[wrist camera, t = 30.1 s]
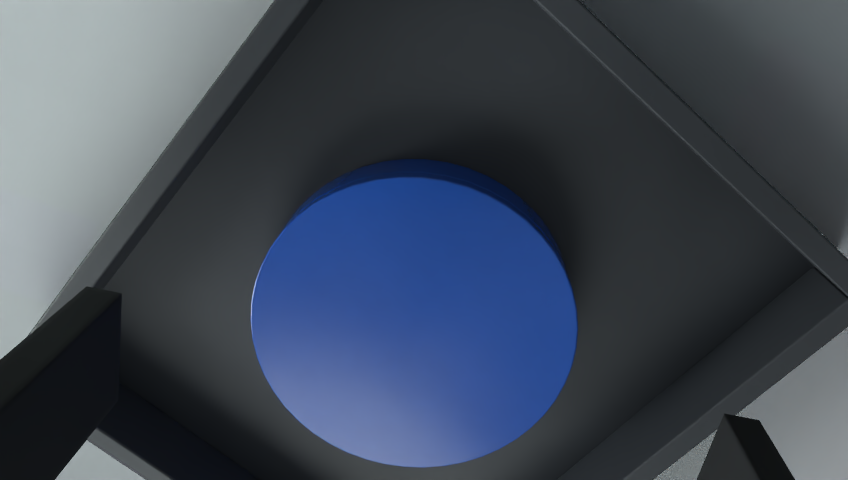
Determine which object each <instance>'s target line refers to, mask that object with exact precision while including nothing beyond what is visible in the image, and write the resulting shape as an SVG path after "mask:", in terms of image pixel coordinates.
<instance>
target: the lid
mask: <svg viewBox="0 0 848 480" xmlns="http://www.w3.org/2000/svg"><path fill="white" fill-rule="evenodd" d="M250 321H251V330H252V339H253V343H254V347H255V351H256V355H257V359H258V361H259V364H260V366H261V369H262V371H263V374H264V376H265V378H266V379H267V381H268V383H269V385H270V386H271V388H272V390H273V392H274V393H275V394H276V396H277V397H278V398H279V400H280V401H281V402H282V404H283V405H284V406H285V408H286V409H287V410H288V411H289V412H290V413H291V414H292V415H293V416H294V417H295V418H296V419H297V420H298V421H299V422H300V423H301V424H303V425H304V426H305V427H306V428H307V429H309V430H310V431H311V432H312V433H314V434H315V435H317V436H318V437H320V438H321V439H323V440H324V441H326V442H328V443H329V444H331V445H333V446H335V447H337V448H339V449H341V450H343V451H345V452H347V453H350V454H352V455H355V456H358V457H360V458H363V459H366V460H370V461H374V462H378V463H382V464H387V465H394V466H401V467H420V468H426V467H440V466H447V465H453V464H458V463H463V462H467V461H470V460H473V459H477V458H480V457H483V456H485V455H487V454H490V453H492V452H494V451H496V450H499V449H501V448H502V447H504V446H506V445H507V444H509V443H511V442H513V441H514V440H516V439H517V438H519V437H520V436H521V435H522V434H524V433H525V432H526V431H528V430H529V429H530V428H531V427H532V426H533V425H534V424H535V423H537V422H538V421H539V420H540V419H541V418H542V417H543V416H544V415H545V413H546V412H547V411H548V409H549V408H550V407H551V405H552V404H553V403H554V402H555V400H556V399H557V397H558V395H559V393H560V392H561V390H562V388H563V386H564V385H565V383H566V380H567V378H568V375H569V373H570V370H571V368H572V365H573V361H574V356H575V352H576V348H577V337H578V317H577V307H576V302H575V298H574V293H573V289H572V285H571V282H570V279H569V276H568V272H567V269H566V266H565V263H564V260H563V258H562V255H561V252H560V250H559V247H558V245H557V243H556V242H555V240H554V238H553V236H552V234H551V233H550V231H549V229H548V228H547V226H546V225H545V224H544V222H543V221H542V220H541V218H540V217H539V216H538V215H537V213H536V212H535V211H534V210H533V209H532V208H531V207H530V206H529V205H528V204H527V203H526V202H525V201H524V200H523V199H522V198H520V197H519V196H518V195H516V194H515V193H514V192H512V191H511V190H510V189H508V188H507V187H506V186H504V185H502V184H501V183H499V182H497V181H495V180H494V179H492V178H490V177H488V176H486V175H484V174H482V173H479V172H477V171H474V170H472V169H469V168H467V167H463V166H459V165H455V164H452V163H448V162H442V161H435V160H428V159H400V160H392V161H384V162H379V163H375V164H371V165H367V166H364V167H361V168H358V169H356V170H353V171H351V172H348V173H346V174H343V175H341V176H340V177H338V178H336V179H334V180H333V181H331V182H329V183H327V184H326V185H324V186H323V187H322V188H320V189H319V190H318V191H316V192H315V193H314V194H313V195H311V196H310V197H309V198H308V199H307V200H306V201H305V202H304V203H303V204H302V205H301V206H300V207H299V208H298V209H297V210H296V211H295V213H294V214H293V216H292V217H291V218H290V220H289V221H288V222H287V224H286V225H285V227H284V228H283V229H282V231H281V232H280V234H279V235H278V237H277V238H276V240H275V241H274V243H273V244H272V246H271V247H270V249H269V251H268V253H267V255H266V256H265V258H264V260H263V262H262V264H261V267H260V269H259V272H258V275H257V278H256V281H255V284H254V290H253V295H252V300H251V320H250Z"/></svg>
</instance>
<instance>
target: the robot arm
mask: <svg viewBox="0 0 848 480" xmlns="http://www.w3.org/2000/svg"><path fill="white" fill-rule="evenodd" d="M121 306H122V293H118V292H113V291H108V290H103V289H98V288H93V287H88V286H86V287H85V288H84V289H83V290H82V291H80V292H79V293H78V294H77V295H76V296H75V297H73V298H72V299H71V300H70V301H69V302H67V303H66V304H65V305H64V306H63V307H62V308H60V309H59V310H58V311H57V312H56V313H55V314H53V315H52V316H51V317H50V318H49V319H48V320H46V321H45V322H44V323H43V324H42V325H41V326H39V327H38V328H37V329H36V330H35V331H34V332H32V333H31V334H30V335H29V336H28V337H26V338H25V339H24V340H23V341H22V342H21V343H19V344H18V345H17V346H16V347H15V348H14V349H12V350H11V351H10V352H9V353H8V354H7V355H5V356H4V357H3V358H2V359H1V360H0V480H55V479H56V477H57V476H58V475H59V474H60V472H61V471H62V470H63V469H64V467H65V466H66V465H67V464H68V462H69V461H70V460H71V459H72V457H73V456H74V455H75V454H76V452H77V451H78V450H79V449H80V448H81V446H82V445H83V444H84V443H85V441H86V440H87V439H88V438H89V436H90V435H91V434H92V433H93V431H94V430H95V429H96V428H97V426H98V425H99V424H100V423H101V421H102V420H103V419H104V418H105V416H106V415H107V414H108V413H109V411H110V410H111V409H112V408H113V406H114V405H115V404H116V403H117V401H118V400H119V369H120V338H121ZM697 480H795V479H794V477H793V476H792V474H791V472H790V471H789V469H788V467H787V466H786V464H785V462H784V461H783V459H782V457H781V456H780V454H779V452H778V451H777V449H776V447H775V446H774V444H773V442H772V441H771V439H770V437H769V436H768V434H767V432H766V431H765V429H764V427H763V426H762V424H761V422H760V421H759V420H755V419H750V418H744V417H739V416H734V415H729V414H724V415H723V418H722V420H721V423H720V425H719V427H718V430H717V432H716V435H715V437H714V440H713V442H712V444H711V447H710V449H709V452H708V454H707V456H706V459H705V461H704V464H703V466H702V468H701V471H700V473H699V476H698V478H697Z"/></svg>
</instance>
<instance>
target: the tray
mask: <svg viewBox="0 0 848 480" xmlns="http://www.w3.org/2000/svg"><path fill="white" fill-rule="evenodd" d="M400 159H428V160H435V161H442V162H448V163H452V164H455V165H459V166H463V167H467V168H469V169H472V170H474V171H477V172H479V173H482V174H484V175H486V176H488V177H490V178H492V179H494V180H495V181H497V182H499V183H501V184H502V185H504V186H506V187H507V188H508V189H510V190H511V191H512V192H514V193H515V194H516V195H518V196H519V197H520V198H522V199H523V200H524V201H525V202H526V203H527V204H528V205H529V206H530V207H531V208H532V209H533V210H534V211H535V212H536V213H537V215H538V216H539V217H540V218H541V220H542V221H543V222H544V224H545V225H546V226H547V228H548V229H549V231H550V233H551V234H552V236H553V238H554V240H555V242H556V243H557V245H558V247H559V250H560V252H561V255H562V258H563V260H564V263H565V266H566V269H567V272H568V276H569V279H570V282H571V285H572V289H573V293H574V298H575V302H576V307H577V317H578V337H577V348H576V352H575V356H574V361H573V365H572V368H571V370H570V373H569V375H568V378H567V380H566V383H565V385H564V386H563V388H562V390H561V392H560V393H559V395H558V397H557V399H556V400H555V402H554V403H553V404H552V405H551V407H550V408H549V409H548V411H547V412H546V413H545V415H544V416H543V417H542V418H541V419H540V420H539V421H538V422H537V423H535V424H534V425H533V426H532V427H531V428H530V429H529V430H528V431H526V432H525V433H524V434H522V435H521V436H520V437H519V438H517V439H516V440H514V441H513V442H511V443H509V444H507V445H506V446H504V447H502V448H501V449H499V450H496V451H494V452H492V453H490V454H487V455H485V456H483V457H480V458H477V459H473V460H470V461H467V462H463V463H458V464H453V465H447V466H440V467H426V468H420V467H401V466H394V465H387V464H382V463H378V462H374V461H370V460H366V459H363V458H360V457H358V456H355V455H352V454H350V453H347V452H345V451H343V450H341V449H339V448H337V447H335V446H333V445H331V444H329V443H328V442H326V441H324V440H323V439H321V438H320V437H318V436H317V435H315V434H314V433H312V432H311V431H310V430H309V429H307V428H306V427H305V426H304V425H303V424H301V423H300V422H299V421H298V420H297V419H296V418H295V417H294V416H293V415H292V414H291V413H290V412H289V411H288V410H287V409H286V408H285V406H284V405H283V404H282V402H281V401H280V400H279V398H278V397H277V396H276V394H275V393H274V392H273V390H272V388H271V386H270V385H269V383H268V381H267V379H266V378H265V376H264V374H263V371H262V369H261V366H260V364H259V361H258V359H257V355H256V351H255V347H254V343H253V339H252V330H251V321H250V320H251V300H252V295H253V290H254V284H255V281H256V278H257V275H258V272H259V269H260V267H261V264H262V262H263V260H264V258H265V256H266V255H267V253H268V251H269V249H270V247H271V246H272V244H273V243H274V241H275V240H276V238H277V237H278V235H279V234H280V232H281V231H282V229H283V228H284V227H285V225H286V224H287V222H288V221H289V220H290V218H291V217H292V216H293V214H294V213H295V211H296V210H297V209H298V208H299V207H300V206H301V205H302V204H303V203H304V202H305V201H306V200H307V199H308V198H309V197H310V196H311V195H313V194H314V193H315V192H316V191H318V190H319V189H320V188H322V187H323V186H324V185H326V184H327V183H329V182H331V181H333V180H334V179H336V178H338V177H340V176H341V175H343V174H346V173H348V172H351V171H353V170H356V169H358V168H361V167H364V166H367V165H371V164H375V163H379V162H384V161H392V160H400ZM86 286H88V287H93V288H98V289H103V290H108V291H113V292H118V293H122V306H121V338H120V369H119V400H118V401H117V403H116V404H115V405H114V406H113V408H112V409H111V410H110V411H109V413H108V414H107V415H106V416H105V418H104V419H103V420H102V421H101V423H100V424H99V425H98V426H97V428H96V429H95V430H94V431H93V433H92V434H91V435H90V436H89V438H88V439H87V440H88V441H89V442H91V443H92V444H94V445H95V446H97V447H98V448H100V449H101V450H103V451H104V452H106V453H107V454H109V455H110V456H111V457H113V458H114V459H116V460H117V461H119V462H120V463H122V464H123V465H125V466H126V467H128V468H129V469H131V470H132V471H134V472H135V473H137V474H138V475H140V476H141V477H143V478H144V479H146V480H653V479H654V478H655V477H657V476H658V475H659V474H661V473H662V472H663V471H664V470H666V469H667V468H668V467H669V466H671V465H672V464H673V463H675V462H676V461H677V460H678V459H680V458H681V457H682V456H684V455H685V454H686V453H687V452H689V451H690V450H691V449H692V448H694V447H695V446H696V445H698V444H699V443H700V442H701V441H703V440H704V439H705V438H706V437H708V436H709V435H710V434H712V433H713V432H714V431H715V430H717V429H718V427H719V425H720V423H721V420H722V418H723V415H724V414H729V415H734V416H735V415H736V414H737V413H738V412H740V411H741V410H742V409H743V408H745V407H746V406H747V405H749V404H750V403H751V402H752V401H754V400H755V399H756V398H758V397H759V396H760V395H761V394H763V393H764V392H765V391H766V390H768V389H769V388H770V387H772V386H773V385H774V384H775V383H777V382H778V381H779V380H780V379H782V378H783V377H784V376H786V375H787V374H788V373H789V372H791V371H792V370H793V369H795V368H796V367H797V366H798V365H800V364H801V363H802V362H803V361H805V360H806V359H807V358H809V357H810V356H811V355H812V354H814V353H815V352H816V351H817V350H819V349H820V348H821V347H823V346H824V345H825V344H826V343H828V342H829V341H830V340H832V339H833V338H834V337H835V336H837V335H838V334H839V333H840V332H842V331H843V330H844V329H846V328H847V327H848V259H847V258H846V257H845V256H844V255H843V254H842V253H841V252H840V251H839V250H838V249H837V248H836V247H835V246H833V245H832V244H831V243H830V242H829V241H828V240H827V239H826V238H825V237H824V236H823V235H822V234H821V233H820V232H819V231H818V230H817V229H816V228H815V227H814V226H813V225H812V224H811V223H810V222H809V221H807V220H806V219H805V218H804V217H803V216H802V215H801V214H800V213H799V212H798V211H797V210H796V209H795V208H794V207H793V206H792V205H791V204H790V203H789V202H788V201H787V200H786V199H785V198H784V197H783V196H781V195H780V194H779V193H778V192H777V191H776V190H775V189H774V188H773V187H772V186H771V185H770V184H769V183H768V182H767V181H766V180H765V179H764V178H763V177H762V176H761V175H760V174H759V173H758V172H757V171H755V170H754V169H753V168H752V167H751V166H750V165H749V164H748V163H747V162H746V161H745V160H744V159H743V158H742V157H741V156H740V155H739V154H738V153H737V152H736V151H735V150H734V149H733V148H732V147H731V146H730V145H728V144H727V143H726V142H725V141H724V140H723V139H722V138H721V137H720V136H719V135H718V134H717V133H716V132H715V131H714V130H713V129H712V128H711V127H710V126H709V125H708V124H707V123H706V122H705V121H704V120H702V119H701V118H700V117H699V116H698V115H697V114H696V113H695V112H694V111H693V110H692V109H691V108H690V107H689V106H688V105H687V104H686V103H685V102H684V101H683V100H682V99H681V98H680V97H679V96H678V95H676V94H675V93H674V92H673V91H672V90H671V89H670V88H669V87H668V86H667V85H666V84H665V83H664V82H663V81H662V80H661V79H660V78H659V77H658V76H657V75H656V74H655V73H654V72H653V71H652V70H650V69H649V68H648V67H647V66H646V65H645V64H644V63H643V62H642V61H641V60H640V59H639V58H638V57H637V56H636V55H635V54H634V53H633V52H632V51H631V50H630V49H629V48H628V47H627V46H626V45H625V44H623V43H622V42H621V41H620V40H619V39H618V38H617V37H616V36H615V35H614V34H613V33H612V32H611V31H610V30H609V29H608V28H607V27H606V26H605V25H604V24H603V23H602V22H601V21H600V20H599V19H597V18H596V17H595V16H594V15H593V14H592V13H591V12H590V11H589V10H588V9H587V8H586V7H585V6H584V5H583V4H582V3H581V2H580V1H579V0H275V1H274V2H273V3H272V5H271V6H270V7H269V9H268V10H267V11H266V13H265V14H264V16H263V17H262V18H261V20H260V21H259V22H258V24H257V25H256V26H255V28H254V29H253V30H252V32H251V33H250V35H249V36H248V37H247V39H246V40H245V41H244V43H243V44H242V45H241V47H240V48H239V49H238V51H237V52H236V54H235V55H234V56H233V58H232V59H231V60H230V62H229V63H228V64H227V66H226V67H225V69H224V70H223V71H222V73H221V74H220V75H219V77H218V78H217V79H216V81H215V82H214V83H213V85H212V86H211V88H210V89H209V90H208V92H207V93H206V94H205V96H204V97H203V98H202V100H201V101H200V102H199V104H198V105H197V107H196V108H195V109H194V111H193V112H192V113H191V115H190V116H189V117H188V119H187V120H186V122H185V123H184V124H183V126H182V127H181V128H180V130H179V131H178V132H177V134H176V135H175V136H174V138H173V139H172V141H171V142H170V143H169V145H168V146H167V147H166V149H165V150H164V151H163V153H162V154H161V155H160V157H159V158H158V160H157V161H156V162H155V164H154V165H153V166H152V168H151V169H150V170H149V172H148V173H147V174H146V176H145V177H144V179H143V180H142V181H141V183H140V184H139V185H138V187H137V188H136V189H135V191H134V192H133V194H132V195H131V196H130V198H129V199H128V200H127V202H126V203H125V204H124V206H123V207H122V208H121V210H120V211H119V213H118V214H117V215H116V217H115V218H114V219H113V221H112V222H111V223H110V225H109V226H108V227H107V229H106V230H105V232H104V233H103V234H102V236H101V237H100V238H99V240H98V241H97V242H96V244H95V245H94V247H93V248H92V249H91V251H90V252H89V253H88V255H87V256H86V257H85V259H84V260H83V261H82V263H81V264H80V266H79V267H78V268H77V270H76V271H75V272H74V274H73V275H72V276H71V278H70V279H69V280H68V282H67V283H66V285H65V286H64V287H63V289H62V290H61V291H60V293H59V294H58V295H57V297H56V298H55V300H54V301H53V302H52V304H51V305H50V306H49V308H48V309H47V310H46V312H45V313H44V314H43V316H42V317H41V319H40V320H39V321H38V323H37V324H36V325H35V327H34V328H33V329H32V331H31V332H30V333H29V335H30V334H31V333H32V332H34V331H35V330H36V329H37V328H38V327H39V326H41V325H42V324H43V323H44V322H45V321H46V320H48V319H49V318H50V317H51V316H52V315H53V314H55V313H56V312H57V311H58V310H59V309H60V308H62V307H63V306H64V305H65V304H66V303H67V302H69V301H70V300H71V299H72V298H73V297H75V296H76V295H77V294H78V293H79V292H80V291H82V290H83V289H84V288H85V287H86ZM29 335H28V336H29ZM28 336H27V337H28Z"/></svg>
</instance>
